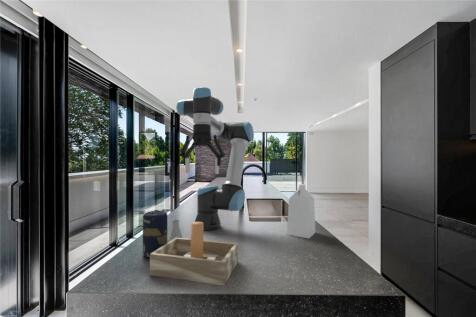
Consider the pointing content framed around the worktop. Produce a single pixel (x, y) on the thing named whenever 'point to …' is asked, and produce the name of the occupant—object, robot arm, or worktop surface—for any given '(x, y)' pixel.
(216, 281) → the open box
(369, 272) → the worktop surface
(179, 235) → the flask
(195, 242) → the peg
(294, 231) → the milk
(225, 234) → the worktop surface
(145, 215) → the canister
